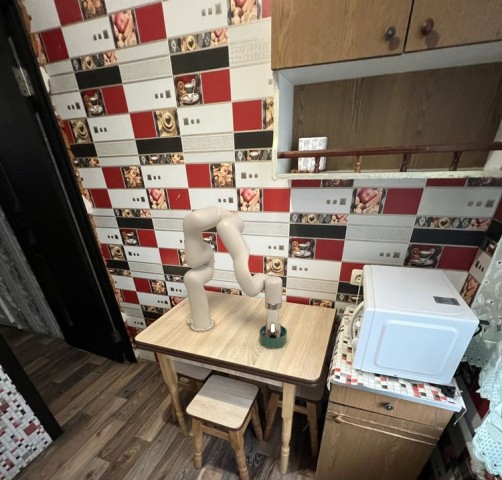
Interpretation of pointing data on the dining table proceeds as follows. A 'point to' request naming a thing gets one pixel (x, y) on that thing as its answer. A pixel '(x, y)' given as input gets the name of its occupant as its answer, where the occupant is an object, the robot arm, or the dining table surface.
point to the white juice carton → (278, 331)
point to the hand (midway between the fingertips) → (272, 336)
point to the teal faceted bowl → (273, 341)
